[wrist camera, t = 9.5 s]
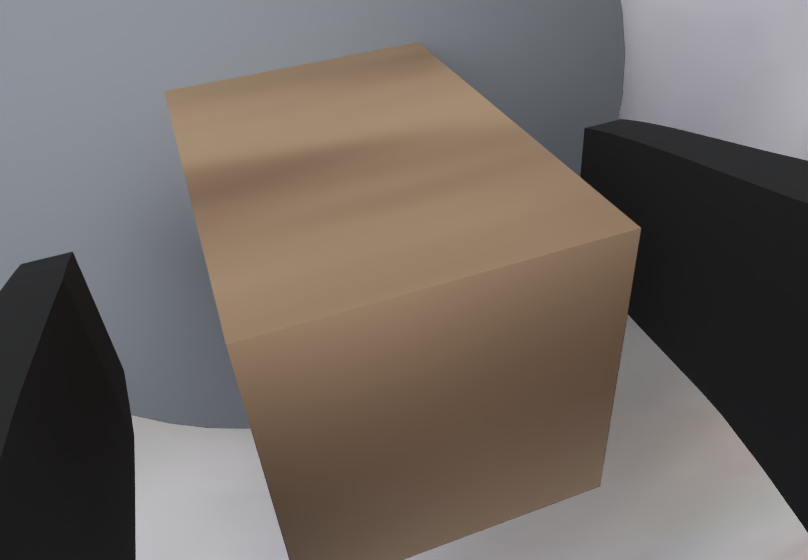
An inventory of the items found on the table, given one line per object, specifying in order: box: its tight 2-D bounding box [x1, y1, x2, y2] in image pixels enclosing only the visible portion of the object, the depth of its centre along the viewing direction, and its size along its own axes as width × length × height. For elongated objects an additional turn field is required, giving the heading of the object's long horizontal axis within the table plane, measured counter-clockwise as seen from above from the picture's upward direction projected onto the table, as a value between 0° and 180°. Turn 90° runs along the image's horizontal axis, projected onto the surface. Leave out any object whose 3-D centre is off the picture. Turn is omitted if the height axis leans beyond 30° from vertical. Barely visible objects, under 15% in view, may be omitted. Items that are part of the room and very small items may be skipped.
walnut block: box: [164, 42, 641, 560], centre depth 10 cm, size 4×4×6 cm
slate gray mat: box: [0, 0, 625, 429], centre depth 12 cm, size 12×12×1 cm
